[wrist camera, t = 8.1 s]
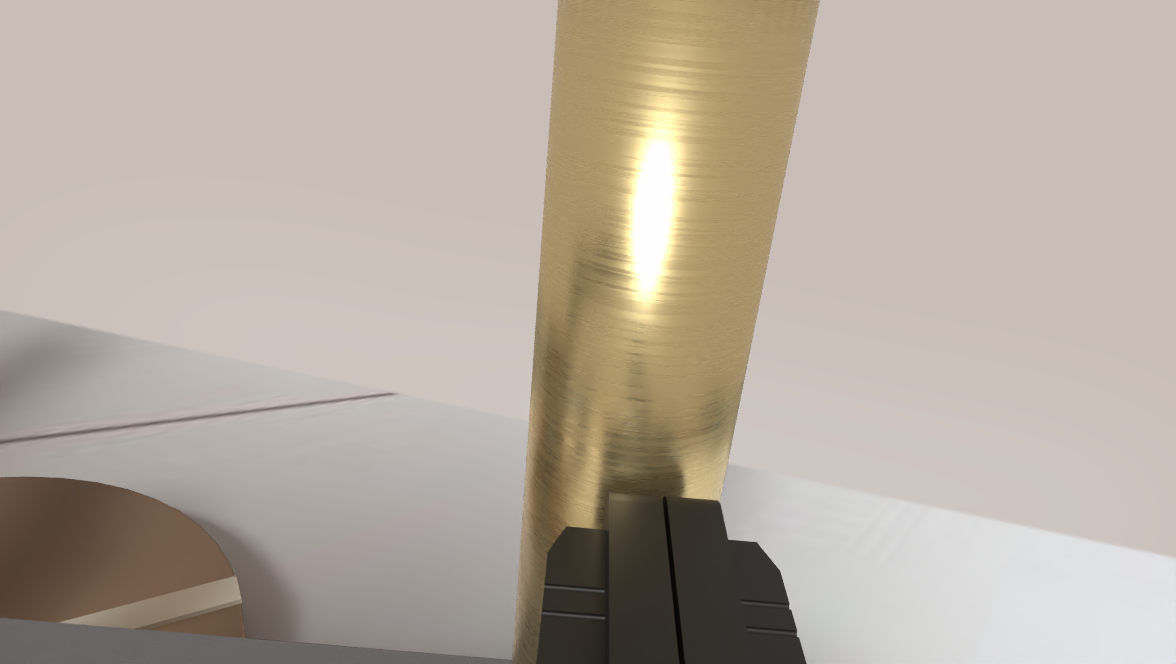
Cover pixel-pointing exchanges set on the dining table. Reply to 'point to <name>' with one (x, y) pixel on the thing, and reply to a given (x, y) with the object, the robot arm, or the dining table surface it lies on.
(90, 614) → the stand
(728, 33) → the crank handle
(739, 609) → the robot arm
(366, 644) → the dining table surface
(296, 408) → the dining table surface
